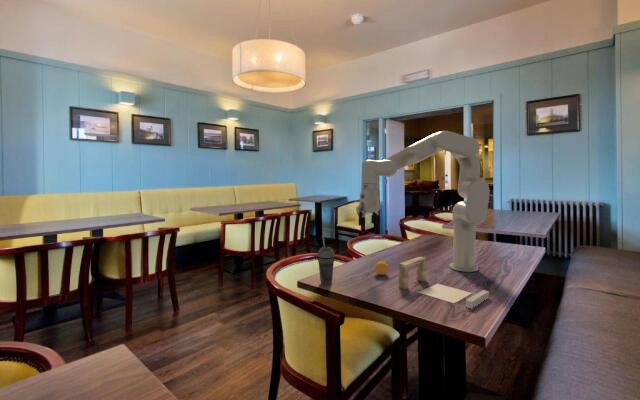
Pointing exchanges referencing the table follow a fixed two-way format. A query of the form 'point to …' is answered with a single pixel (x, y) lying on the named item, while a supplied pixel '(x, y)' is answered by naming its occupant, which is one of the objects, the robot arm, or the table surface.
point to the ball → (381, 268)
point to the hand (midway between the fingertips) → (368, 224)
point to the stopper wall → (477, 299)
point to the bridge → (405, 268)
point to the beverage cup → (326, 264)
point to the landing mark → (445, 293)
